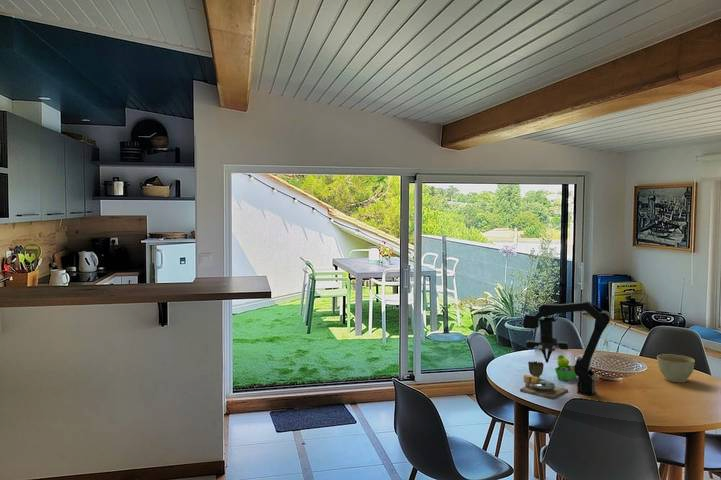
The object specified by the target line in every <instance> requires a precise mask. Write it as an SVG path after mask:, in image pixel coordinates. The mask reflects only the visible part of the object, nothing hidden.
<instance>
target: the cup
mask: <svg viewBox="0 0 721 480" xmlns="http://www.w3.org/2000/svg"><path fill="white" fill-rule="evenodd" d="M527 364H528V372H529V375H531V376H535V377H538V380H539V379H540V378H541V377H540V376H542V375H543V372H544V365H545V363H543V362H542V361H535V360H534V361H533V360H532V361H528V363H527Z"/></svg>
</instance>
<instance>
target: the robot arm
mask: <svg viewBox="0 0 721 480" xmlns="http://www.w3.org/2000/svg"><path fill="white" fill-rule="evenodd" d="M584 311H585V312H586V313H588V315H589V316H591V317H592V318H593V319H595V320H594V327H593V332H592V333H591V336H590V338H589V340H588V343H587V345H586V348H585V350H584V353H583V355H582V356H578V357H577V358H576V361H575V364H574V365H573V366H574V367H575V369H574V372H575V374H576V375H577V376H576V377H578V381H577V383H576V385H577V390H576V393H578V394H582V395H585V396H593V395H594V394H596V393H597V391H596V389H595V388H596V382H595V381H596V380H595V379H594V378H595V374H596V373H595V372H594V371H593V370H592V369H591V366H592V359H593V356H594V354H595V351H596V350H597V347H598V345H599V342H600V339H601V337H602V335H603V333H604V331H605V329H607V326H608V325H609V323H610V322H611V321H612V318H613V317H612V314H611V313H610V312H609V311H607V310H603V309H602V308H600V307H598V305H595V304H594V303H592V302H591V301H589V300H586V301H581V302H580V301H579V302H572V303H571V302H570V303H561V304H560V303H559V304H558V303H551V302H545V303H543V304H542V305H540V306H539V308H538V312H537V313H536V314H535V315H534V314H529V313H528V314H524V318H523V322H522V324H523V325H522V326H523V329H526V330H527V329H528V330H537V329H538V328H539V336H540V338H539V341H535V340H534V339H527V340H526V341H525V348H526V349H534V348H535V347H538V350H539V351H541V353H542V355H543V357H544V360H545V363H546V364H547V363H549V361H550V357H551V355H552V352H555V351H556V348H559V349H560V350H564V351H565V350H569V344H568V342H567V341H565V340H563V341H561V340H558V339H557V337H554V327H553V326H554V322H557V321H558V319H557V318H556V317H555V315H558V314H561V313H563V314H564V313H573V312H584ZM543 317H544V318H543ZM546 349H547V352H546Z"/></svg>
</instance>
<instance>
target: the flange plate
mask: <svg viewBox="0 0 721 480" xmlns="http://www.w3.org/2000/svg"><path fill="white" fill-rule="evenodd" d="M526 376H529V385H530V384H532V386H533V387H534V388H537V389H542V390H551V389H554V388H555V386H556V385H555V383H554V382H551V381H547V380H545V381H546V384H541V381H542V380H539V379H538V377H535V376H532V375H531V374H524V375H523V383H525V377H526Z"/></svg>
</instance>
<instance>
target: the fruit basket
mask: <svg viewBox="0 0 721 480" xmlns="http://www.w3.org/2000/svg"><path fill="white" fill-rule="evenodd" d="M574 366H575V365H571V364H570V361H569V359H568V358H567V357H565V356H564V355H563V354H558V356H557V367H555V368H554V370H555V373H556V376H557V380H558V379H559V380H563V381H571V380H572V379H576V378H577V377H578V376H577V375H576V374H575V372H574V369H575V367H574Z"/></svg>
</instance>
